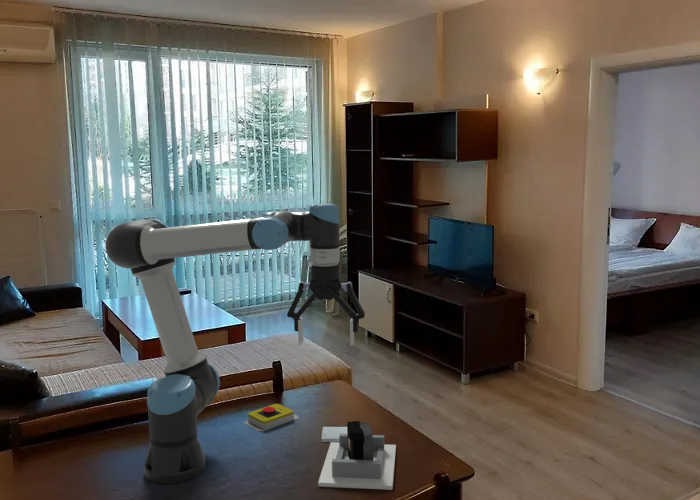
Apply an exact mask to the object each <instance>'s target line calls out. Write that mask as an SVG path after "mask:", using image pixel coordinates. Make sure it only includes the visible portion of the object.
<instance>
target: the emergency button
mask: <svg viewBox="0 0 700 500" xmlns="http://www.w3.org/2000/svg"><path fill="white" fill-rule="evenodd" d="M297 419H300V415H297V414H294V410H292V409H290V408H288V407H285V406H284V405H281V404H280V403H274V404H271V405H268V406H265V407H263V408H262V407H261V408H258V409H256V410H255V409H254V410H253V411H252V410H251V411H250V412H248V414H247V420H246V421H244V422H243V424H244V425H245V426H247V427H250V428H251V429H253V430H256V431H257V432H260V433H261V432H265V431H268V430H271V429H274V428H276V427H279V426H282V425H284V424H287V423H290V422H292V421H296V420H297Z"/></svg>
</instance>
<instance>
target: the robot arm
mask: <svg viewBox="0 0 700 500" xmlns="http://www.w3.org/2000/svg"><path fill="white" fill-rule="evenodd" d="M339 214H340V213H339V206H338V205H337V204H334V203H312V204H310V205H309V209H308V211H281V210H277V211H267V212H265V213H264V215H263V217H254V218H246V219H237V220H236V219H235V220H227V221H219V222H210V223H209V222H208V223H200V224H189V225H180V226H169V225H168V224H167V222H164V221H162V220H159V219H158V218H144V219H143V218H141V219H139V220H135V221H130V222H126V223H125V222H124V223H120V224H119V225H117V226H115V227H114V228H113V229H112V230H111V231H110V232H109V233H108V235H107V238H106V239H105V252H106V255H107V257H108V258H109V260H110V261H111V262H112V263H113V264H115V265H116V266H118V267H119V268H123V269H130V271H131V274H132V276H133V277H136V278H138V279H139V280H140V283H141V285H142V288H143V291H144V294H145V298H146V301H147V305H148V307H149V311H150V314H151V317H152V319H153V323H154V324H155V328H156V331H157V334H158V338H159V341H160V345H161V346H162V349H163V353H164V356H165V359H166V365H165V368H164V369H163V372H164V374H165V375H164V377H160V378H157V379H156V380H154V381H153V382H152V383H151V384H150V386H149V387H148V389H147V398H146V406H147V412H148V414H147V415H148V417H147V418H148V427H149V428H148V430H149V433H148V434H149V447H148V451H147V453H146V458H145V462H144V465H143V466H144V467H143V469H144V477H145V478H146V479H147V480H148V481H150V482H152V483H155V484H161V485H162V484H163V485H167V484H168V485H169V484H170V485H172V484H178V483H182V482H184V483H185V482H187V481H189V480H193V479H194V478H196V477H198V476H200V474H202V473H203V472H204V471H205V469H206V456H205V454H204V450H203V449H202V448H203V447H202V446H201V443H200V442H199V441H200V440H199V439H198V428H197V427H198V426H197V417H198V415H200V414H201V412H203V410H204V409H205V408H206V407H207V406H209V405H210V404H211V403H212V402H213V401H214V399H215V398H216V396H217V394H218V392H219V390H220V386H221V382H220V381H221V380H220V379H221V378H220V376H219V373H218V371H217V369H216V368H215V367H214V366H213V365H211V364H210V363H209V362H208V359H207V356H206V355H205V354H203V353H201V352H199V350H198V347H197V344H196V341H195V337H194V333H193V331H192V327H191V325H190V321H189V318H188V315H187V312H186V309H185V306H184V304H183V300H182V299H183V298H182V296H181V293H180V291H179V288H178V284H177V281H176V278H175V275H174V273H173V268H174V266H175V264H176V259H177V258H185V257H194V256H195V257H197V256H204V255H215V254H223V253H233V252H234V253H236V252H243V251H253V250H265V251H273V250H276V249H277V250H278V249H280V248H281V247H283V246H284V245H285V244H286V243H289V242H294V241H295V242H303V241H304V242H308V241H309V243H310V247H309V248H310V252H309V253H310V254H309V255H310V256H309V257H310V259H309V260H310V264H311V265H310V282H305V281H303V280H301V281H300V282H299V283H298V287H297V289H298V290H297V293H296V294H295V297H294V299H293V301H292V303H291V304H290V307H289V309H288V311H287V313H286V316H287V318H291V319H293V324H294V325H293V326H294V327H293V328H294V331H295V332H297V334H298V336H297V337H298V338H297V339H298V345H302V344H303V343H304V319H303V317H301V316H302V315H303V313H304V312H305V311H306V310H307V309H308V307H310V305H311V304H312V303H313V302H314V301H315V299H317V300H320V301H323V300H327V301H332V300H335V301H336V302H337V303H338V304H339V305H340V306H341V308H342V310H344V311H345V312H346V313H347V315H348V316H349V317H350V320H349V341H350V343H349V345H350V346H352V347H353V346H354V344H355V333H358V330H359V320H362V319H364V318H365V315H366V312H365V310H364V309H363V306H362V304H361V303H360V301H359V299H358V297H357V295H356V293H355V291H354V288H353V282H352V281H348V282H341V270H340V269H341V267H340V266H341V265H340V264H339V262H340V258H341V257H340V250H341V249H340V248H341V247H340V223H341V222H340V215H339ZM308 288H309V289H310V291H311V292H312V294H311V296H309V298H308V299H307V300H306V301H305V303H303V305H302V306H301V307H300V308H299V309H298V310H297V312H295V310H296V309H297V307H298V304H299V302H300V300H301V298H302V296H303V294H304V292H305V291H307V289H308ZM341 289H343V290H344V291H345V292H347V294H348V297H349V298H350V301H351V303H352V306H354V308H355V310H356V311H355V310H354V309H353V308H352V306H351V305H350V304H349V303H348V301H346V300H345V298H344V297H343V295H342V294H341V293H340V290H341Z"/></svg>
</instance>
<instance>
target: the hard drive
mask: <svg viewBox="0 0 700 500" xmlns="http://www.w3.org/2000/svg"><path fill="white" fill-rule="evenodd" d="M340 434H347V426H322V430H321V437H320V438H321V439H320V440H321V441H320V442H321V443H331V442H336V443H339V436H340Z"/></svg>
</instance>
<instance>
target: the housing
mask: <svg viewBox="0 0 700 500" xmlns="http://www.w3.org/2000/svg"><path fill="white" fill-rule="evenodd" d="M372 437H373V450H374V456H373V460H350V459H349V456H348V450H347V449H348V445H347V434H340V436H339V442H329V447H328V450H327V454H326V456H325V460H324V463H323V466H322V469H321V473H320V476H319V479H318V482H317V485H318V487H323V488H345V489H364V490H365V489H367V490H370V489H371V490H388V491H389V490H390V491H392V490H393V488H394V477H395V475H394V474H395V464H396V454H397V445H396V444H385V434H384V435H382V434H372Z"/></svg>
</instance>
